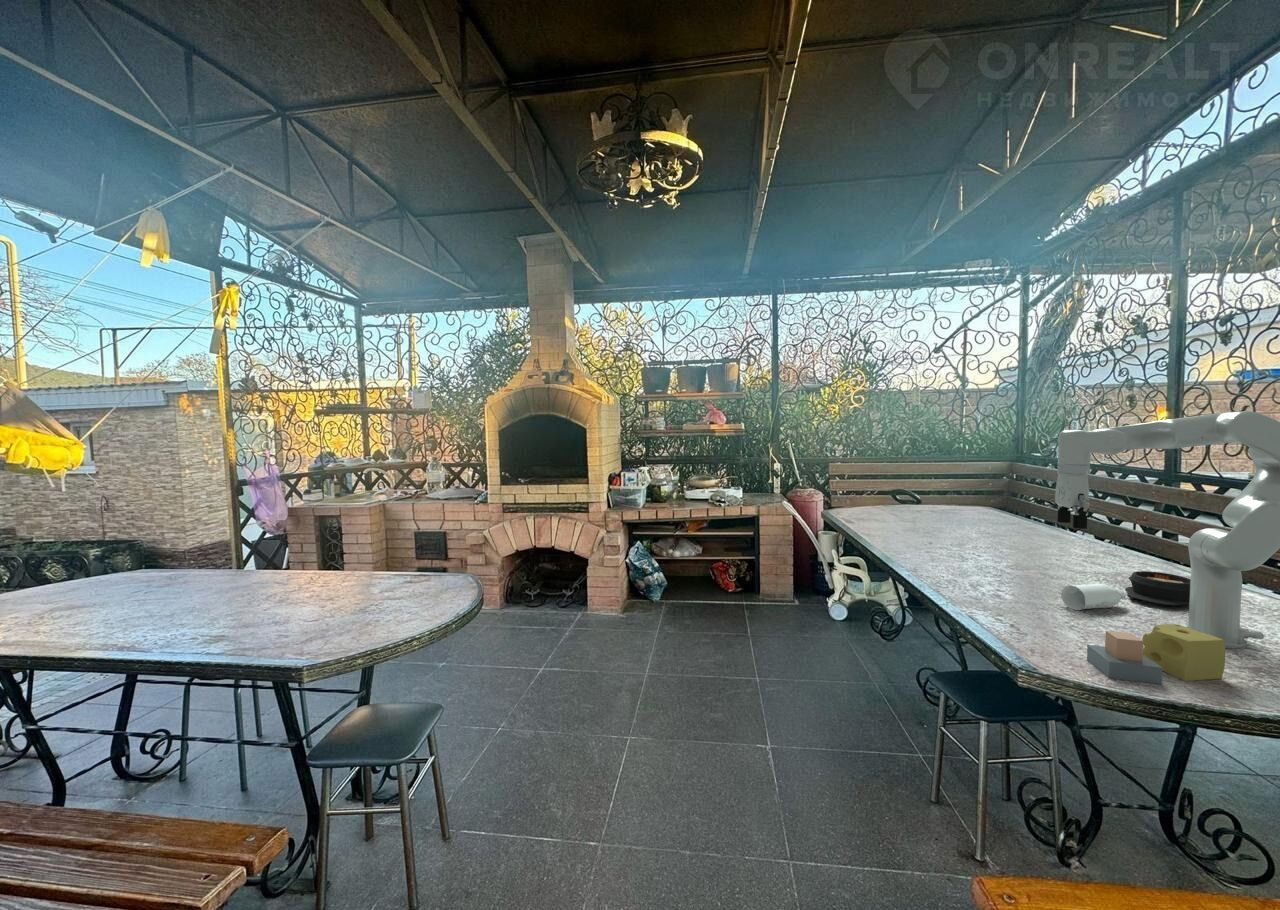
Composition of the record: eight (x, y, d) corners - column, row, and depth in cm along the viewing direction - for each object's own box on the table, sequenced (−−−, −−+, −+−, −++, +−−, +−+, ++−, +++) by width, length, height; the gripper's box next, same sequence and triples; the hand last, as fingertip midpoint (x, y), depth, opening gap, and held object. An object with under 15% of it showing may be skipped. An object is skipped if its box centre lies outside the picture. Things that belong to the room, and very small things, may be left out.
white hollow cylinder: (1132, 610, 165) (1133, 586, 164) (1083, 613, 162) (1084, 589, 161) (1106, 602, 172) (1108, 579, 172) (1059, 605, 170) (1060, 582, 169)
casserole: (1140, 587, 188) (1141, 565, 187) (1213, 602, 171) (1214, 578, 171) (1111, 598, 176) (1112, 575, 176) (1186, 615, 160) (1187, 589, 159)
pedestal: (1135, 665, 126) (1136, 649, 126) (1161, 684, 117) (1162, 667, 117) (1086, 659, 130) (1087, 644, 129) (1108, 677, 120) (1109, 661, 120)
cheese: (1138, 662, 128) (1140, 624, 128) (1176, 660, 129) (1178, 622, 129) (1186, 682, 118) (1188, 641, 117) (1227, 680, 119) (1229, 639, 118)
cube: (1104, 649, 126) (1105, 630, 126) (1129, 652, 125) (1130, 633, 124) (1116, 658, 122) (1117, 638, 121) (1142, 661, 120) (1143, 641, 120)
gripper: (1046, 467, 162) (1044, 519, 163) (1072, 472, 146) (1070, 530, 147) (1074, 468, 160) (1072, 521, 161) (1104, 472, 144) (1102, 531, 144)
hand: (1071, 525), depth 154 cm, fingers open, 9 cm apart
